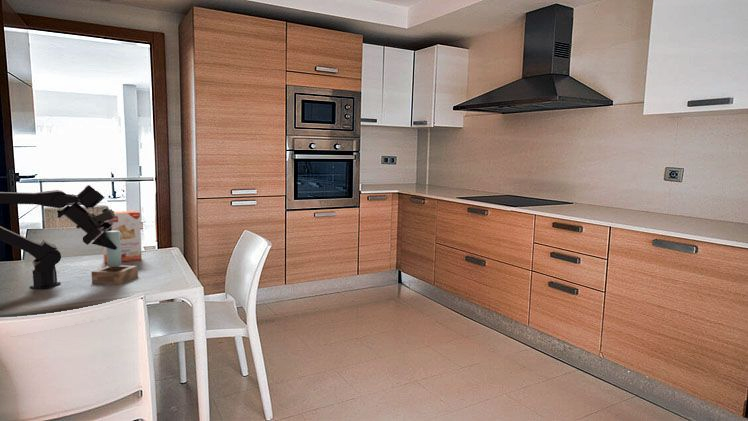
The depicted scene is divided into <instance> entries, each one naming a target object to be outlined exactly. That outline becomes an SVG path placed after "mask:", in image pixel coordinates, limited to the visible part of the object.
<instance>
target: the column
mask: <svg viewBox="0 0 748 421" xmlns="http://www.w3.org/2000/svg"><path fill="white" fill-rule="evenodd" d="M107 237H108V238H109V239H110V240H111V241H112V242H113V243H114V244H115V245H116V247H117V249H116V250H113V249H110V248H107V263H106V264H107V265H106V266H108V267H117V266H121V265H123V264H122V262H121V241H120V231H107Z"/></svg>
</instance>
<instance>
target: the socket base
mask: <svg viewBox="0 0 748 421" xmlns="http://www.w3.org/2000/svg"><path fill="white" fill-rule="evenodd" d="M138 268H139V267H138V265H126V264H122V265H121V266H117V267H108V266H107V265H106V266H104V267H100V268H98V269H96V270H92V271H91V283H92V284H106V285H107V284H110V285H121V284H124V283H125V282H128V281H130V280H133V279H135V278H137V277H139V271H138Z"/></svg>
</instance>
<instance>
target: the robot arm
mask: <svg viewBox="0 0 748 421" xmlns="http://www.w3.org/2000/svg"><path fill="white" fill-rule="evenodd" d="M104 199H105V196H103V194H102V193H101V192H99V191H98V190H96V189H95V188H93V187H92V186H91V185H90V184H88V185H86V186H85V187H84V189H82V190H81V191H80V192H79V193H78V194H77V195H76V194H73V193H72V194H69V193H68V194H67V193H65V192H64V191H63V190H59V189H54V190H53V189H52V190H46V191H40V192H17V191H16V192H15V191H14V192H10V191H6V192H5V191H0V205H37V206H42V207H49V208H54V209H57V210H56V212H57V218H58V219H62V218H63V217H64V216H65V217H66V218H67V219H68V220H69V221H71V222H72V223H73V224H74V225H76V226H75V227H76V228H77V229H81V230H82V231H83V232H84V233H85V235H84V236H83V237H82V242H83V244H86V245H87V246H89V244H90V243H91V245H95V246H99V247H102V248H103V247H106V248H110V249H113V250H116V249H117V247H116V245H115V244H114V243H113V242H112V241H111V240H110V239H109V238H108V237H107V231H112V227H111V226H112V225H113V223H112V222H111V221H107V220H111V219H113V218H114V217H116V216H115V214H114V212H115V210H113V209H112V208H108V207H106V208H104V209H102V210H101V213H99V214H95V213H90V212H88V210H89V209H93V208H94V209H95V207H96V206H97V205H99V204H100V203H101V201H103V200H104ZM70 204H72V205H70ZM80 204H81V205H82V206H81V205H80ZM58 209H59V210H58ZM86 209H87V210H86ZM0 241H1V242H3V243H6V244H8V245H10V246H12V247H15V248H17V249H19V250H20V251H21V250H22V251H24V252H26V253H28V254H30V255H31V256H32V257H33V258H34V260H33V261H32V266H33V270H32V283H33V284H32V285H29V289H40V290H42V289H43V290H47V289H50V288H52V287H55V286H58V285H61V284H62V282H59V281H58V276H57V275H58V274H57V273H58V272H57V270H56V265H57V264H58V263H60V261H61V259H62V254H61V252H60V251H59V249H58V248H57V245H56V244H53V243H49V242H48V241H47V240H45V239H42V240H41V242H38V241H34V240H32V239H29V238H28V237H25V236H23V235H20V234H18V233H16V232H15V231H11V230H10V229H7V228H6V227H3V226H1V225H0ZM92 241H93V242H92Z"/></svg>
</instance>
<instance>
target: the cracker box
mask: <svg viewBox="0 0 748 421" xmlns="http://www.w3.org/2000/svg"><path fill="white" fill-rule="evenodd" d="M114 214H115V216H116V217H114V218H113V219H111V220H107V221H111V222H112V223H113V225H112V226H111V227H112V231H120V241H121V263H122V262H130V261H131V262H132V261H141V260H143V259H142V236H141V235H142V234H141V230H142V229H141V212H140V211H138V210H126V211H124V210H123V211H114ZM102 249H103V250H102V251H103V253H102V254H103V261H104V264H107V248H106V247H103V246H102Z"/></svg>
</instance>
